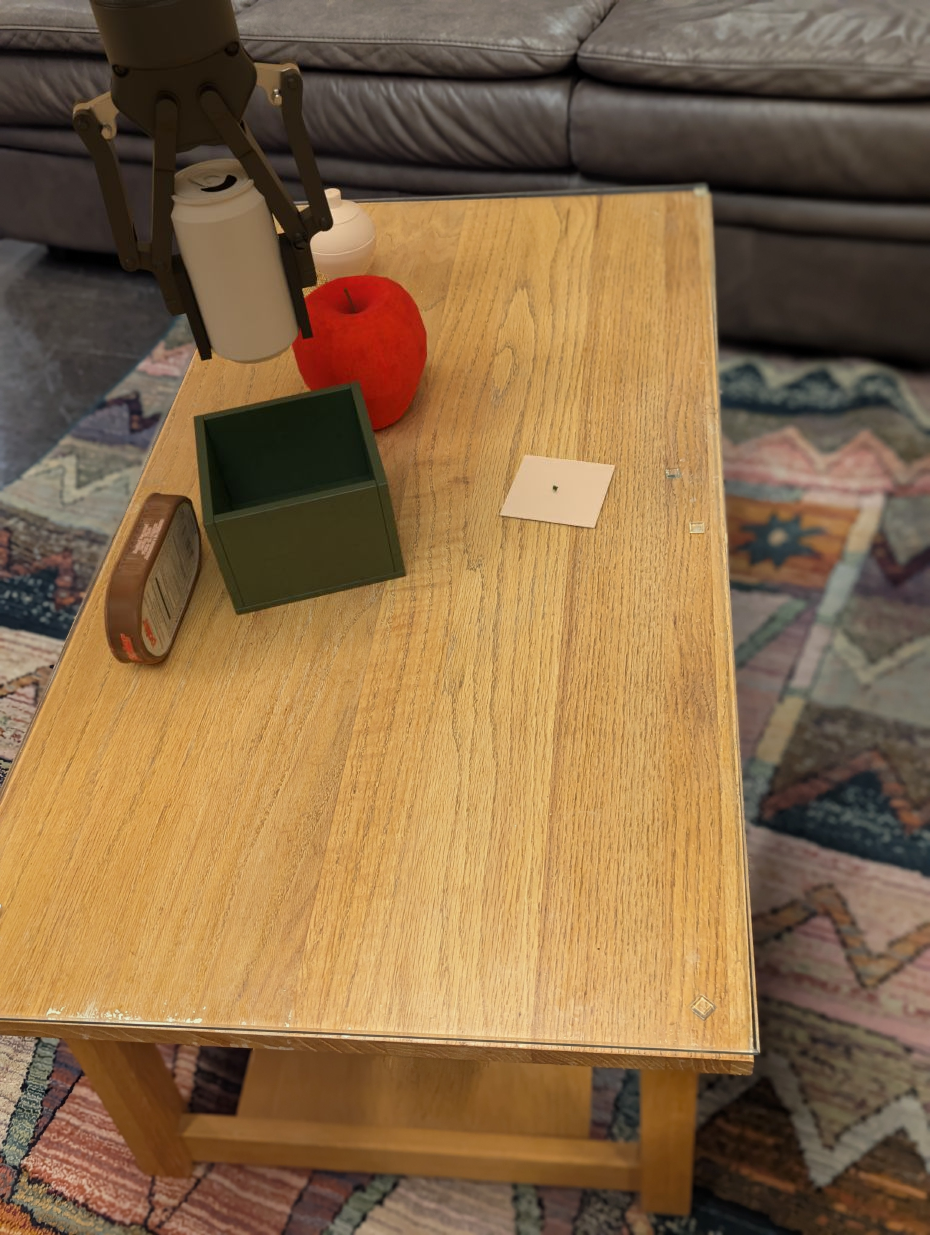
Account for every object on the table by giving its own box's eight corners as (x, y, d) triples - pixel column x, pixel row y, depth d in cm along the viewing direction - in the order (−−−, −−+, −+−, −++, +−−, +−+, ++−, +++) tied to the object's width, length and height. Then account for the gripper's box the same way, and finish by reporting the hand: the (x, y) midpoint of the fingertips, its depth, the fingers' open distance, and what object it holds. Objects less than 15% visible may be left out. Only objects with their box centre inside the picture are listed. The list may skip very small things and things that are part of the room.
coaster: (615, 465, 92) (615, 458, 91) (594, 528, 87) (594, 520, 86) (524, 454, 94) (524, 447, 93) (499, 515, 89) (498, 507, 88)
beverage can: (251, 381, 73) (201, 211, 64) (193, 350, 76) (139, 185, 67) (321, 336, 75) (282, 168, 67) (262, 309, 79) (218, 145, 70)
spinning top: (397, 306, 113) (379, 196, 104) (328, 328, 111) (304, 218, 103) (373, 274, 118) (354, 166, 109) (307, 294, 116) (282, 187, 108)
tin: (180, 547, 90) (149, 469, 84) (216, 547, 90) (188, 469, 84) (125, 687, 80) (84, 610, 74) (165, 688, 80) (128, 610, 74)
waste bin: (236, 615, 84) (202, 524, 77) (224, 506, 94) (193, 416, 87) (406, 576, 85) (387, 482, 78) (377, 471, 95) (358, 380, 88)
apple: (393, 363, 106) (370, 236, 96) (463, 416, 99) (447, 284, 89) (289, 414, 102) (255, 287, 92) (355, 473, 95) (326, 342, 85)
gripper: (319, -79, 62) (382, 284, 79) (-21, -17, 60) (118, 339, 77) (337, -42, 57) (400, 337, 74) (-33, 27, 55) (118, 398, 72)
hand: (255, 338), depth 75 cm, fingers closed on beverage can, 6 cm apart
